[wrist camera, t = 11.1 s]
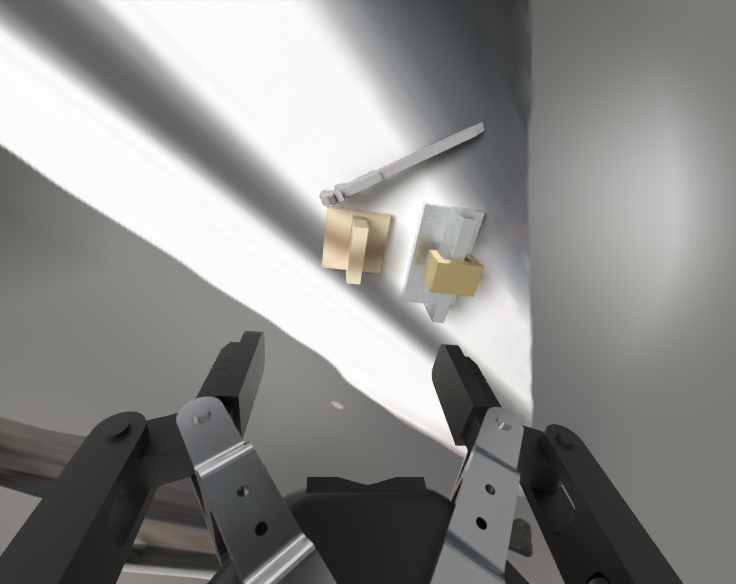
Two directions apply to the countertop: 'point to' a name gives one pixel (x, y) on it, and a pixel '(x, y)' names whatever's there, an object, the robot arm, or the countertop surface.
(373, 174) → the caliper
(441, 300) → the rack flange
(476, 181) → the countertop surface
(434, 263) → the u clip
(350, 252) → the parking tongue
